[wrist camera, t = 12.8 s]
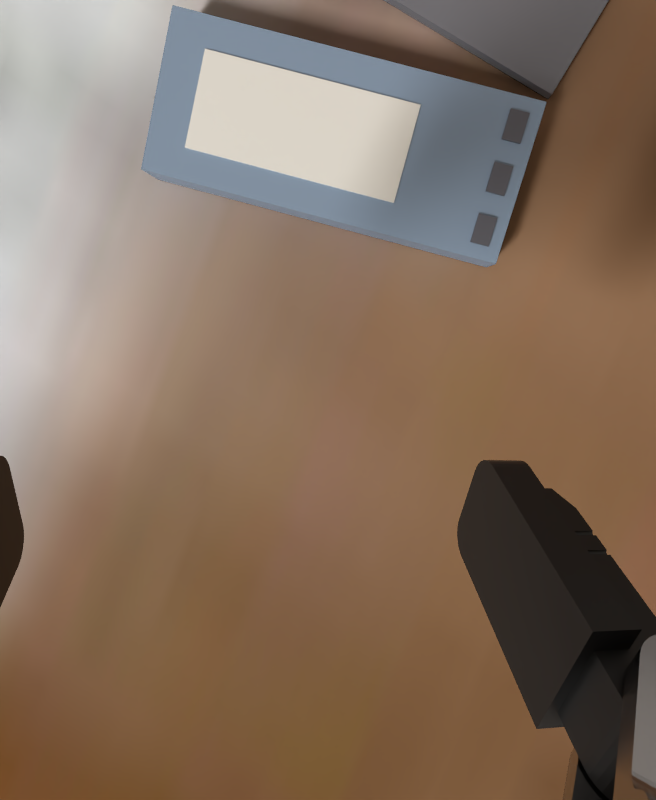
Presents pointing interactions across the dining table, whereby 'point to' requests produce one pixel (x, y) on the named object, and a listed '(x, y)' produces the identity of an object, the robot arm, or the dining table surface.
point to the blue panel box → (339, 137)
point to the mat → (513, 33)
